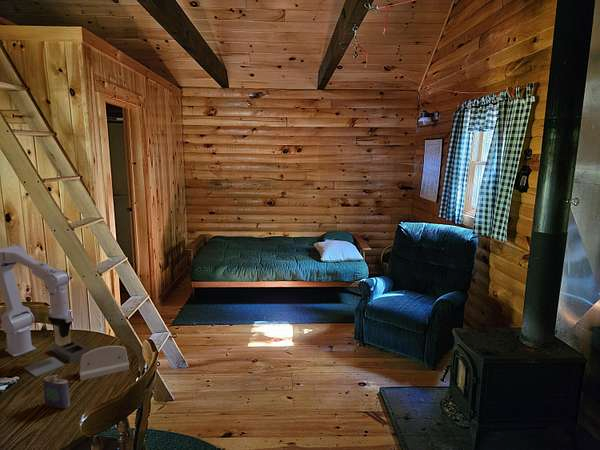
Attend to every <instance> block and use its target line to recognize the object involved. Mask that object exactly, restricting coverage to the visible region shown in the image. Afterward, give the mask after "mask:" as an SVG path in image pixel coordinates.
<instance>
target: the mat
mask: <svg viewBox="0 0 600 450" xmlns="http://www.w3.org/2000/svg"><path fill="white" fill-rule="evenodd" d="M65 365H66V364H65V363H64V362H62V361H60V360H59V359H58V358H56V357H54V356H51V357H48V358H46V359H43V360H39V361H38V362H35V363H32V364H30V365H27V366H24V367H23V369H24V370H26V371H27V372H28V373H29V374H31V375H32V376H34V377H35V378H36V377H40V376H42V375H45V374H47V373H49V372H52V371H54V370H57V369H59V368H61V367H64V366H65Z"/></svg>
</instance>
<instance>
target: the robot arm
mask: <svg viewBox="0 0 600 450" xmlns="http://www.w3.org/2000/svg"><path fill="white" fill-rule="evenodd" d="M17 264H20V265H22V266H23V267H26V268H28V269H29V270H31V274H32V275H34V276H35V277H37V278H38V279H40V280H41V281H43V282H44V283H43V284H44V286H45V287H46V290H47V293H48V295H49V305H50V308H49V309H48V315H50V316H49V317H48V318H47V320H48V321H49V322H50V324H51V325H52V327H53V329H54V324H57V325H58V327H59V330H60V334H61V337H62V338H63V337H66V336H68V334H69V329H70V330H71V328H70V327H71V325H72V323H73V321H74V318H73V316H72V315H71V313H72V312H73V311H72V310H73V309H69V301H68V290H67V288H68V287H67V284H69V282H70V275H69V273H68V272H67V271H66V270H64V269H62V270H60V269H55V268H54V267H53V266H51V265H50V264H48V263H47V262H46V261H40V262H39V261H37V260H36V259H35V258H34V257H32V256H31V255H30V254H28V253H27V251H26V248H25V247H23V246H22V245H21V244H14V245H10V246H6V247H0V292H1V295H2V298H3V301H4V305H5V308H6V310H5V311H4V312H3V314H2V315H1V317H0V318H1V319H0V320H1V329H2V330H3V332H4V333H6V343H7V348H5V349H4V351H5V352H6V353H8V354H10V355H11V356H12V357H18V356H20V355H23V354H27V353H29V352H31V351H32V352H33V351H35V350H36V349H37V347H35V346H34V345H33V344H32V335H31V328H32V325H34V323H35V315H34V314H33V313H32V312H31V309H30V307H28V306H24V305H23V302H22V299H21V296H20V292H19V288H18V285H17V282H16V279H15V275H14V272H13V271H14V270H13V269H14V267H15V265H17Z"/></svg>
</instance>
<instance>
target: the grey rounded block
mask: <svg viewBox="0 0 600 450" xmlns="http://www.w3.org/2000/svg"><path fill="white" fill-rule="evenodd" d="M79 363H80V364H79V365H80V366H79V376H80V377H79V379H80V381H84V380H89V379H93V378H94V379H95V378H98V377H103V376H108V375H112V374H115V373H120V372H124V371H128V370H130V367H129V365H130V363H129V357H128V354H127V350H126V347H125V346H123V345H105V346H99V347H96V348H94V349H90V351H88V352H87V353H85V354H83V355H82V356H81V358H80V361H79Z"/></svg>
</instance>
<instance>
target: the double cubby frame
mask: <svg viewBox="0 0 600 450" xmlns="http://www.w3.org/2000/svg"><path fill="white" fill-rule="evenodd" d="M50 351H51V352H52V353H53V354H55V355H57V356H59V357H60V358H61V359H64V360H65V361H67V362H68V363H73V362H76V361H78V360H81V356H82V355H83V354H85V353H87V352H88V351H91V349H90V347H87V346H86V345H84V344H83V343H81V342H79V341H78V340H75V339H73V338H72V337H71V343H68V344H66V345H63V346H59V345H57V344H55V343H53V344H50Z"/></svg>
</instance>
